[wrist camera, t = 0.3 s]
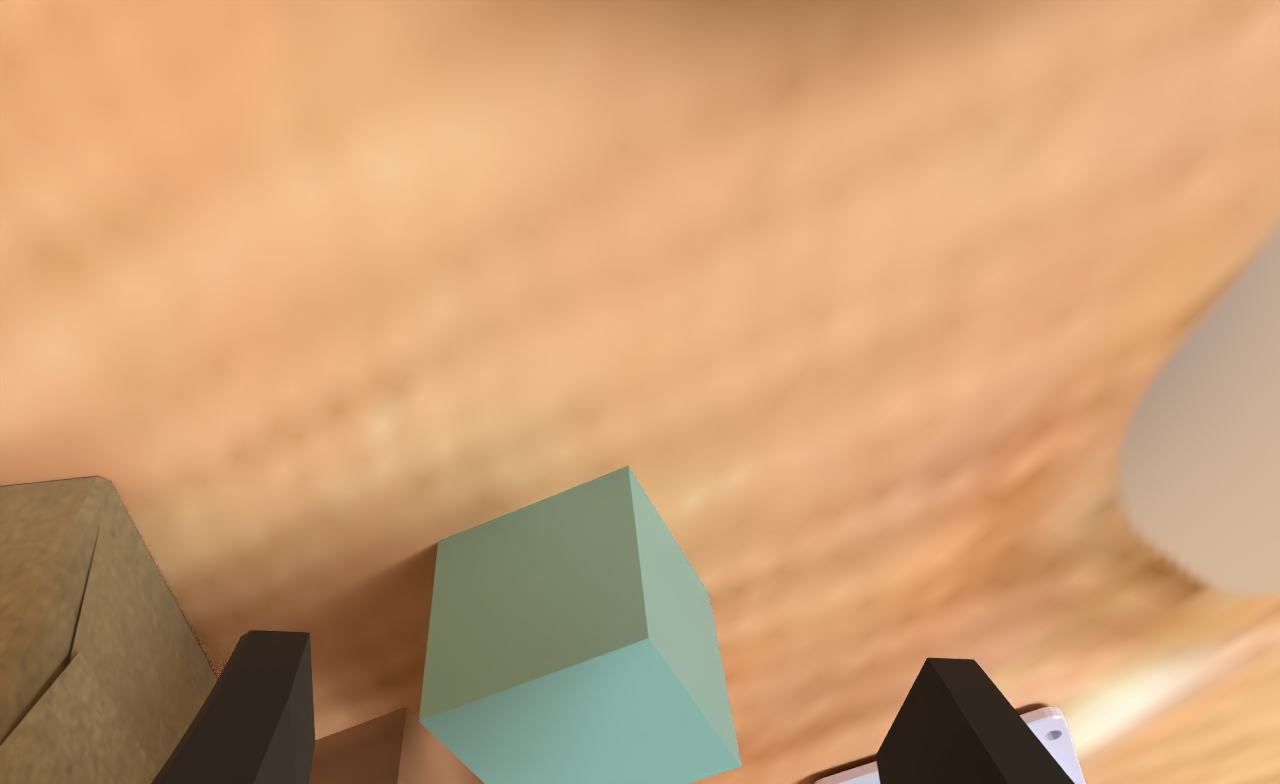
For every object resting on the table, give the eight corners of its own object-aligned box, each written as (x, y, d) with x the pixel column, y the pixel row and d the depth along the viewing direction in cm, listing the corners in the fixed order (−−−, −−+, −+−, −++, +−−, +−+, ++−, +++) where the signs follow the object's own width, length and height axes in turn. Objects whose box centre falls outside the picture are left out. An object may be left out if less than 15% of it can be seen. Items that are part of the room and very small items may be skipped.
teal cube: (708, 591, 25) (741, 766, 21) (537, 654, 26) (537, 833, 22) (628, 463, 22) (648, 637, 18) (438, 539, 23) (419, 721, 19)
